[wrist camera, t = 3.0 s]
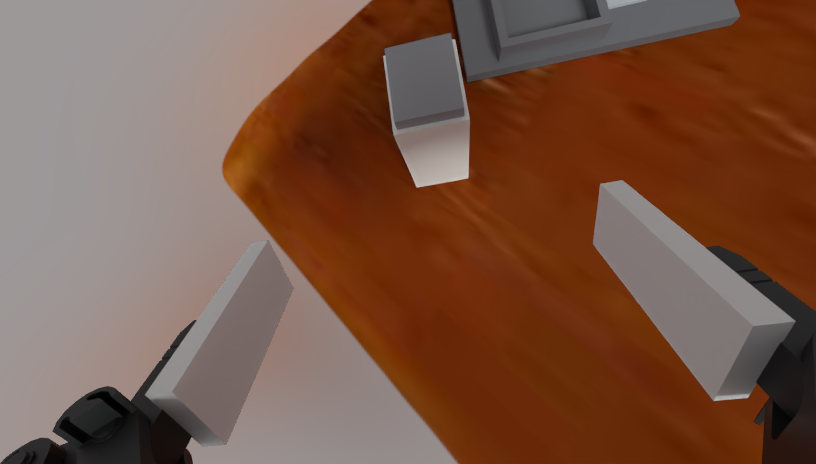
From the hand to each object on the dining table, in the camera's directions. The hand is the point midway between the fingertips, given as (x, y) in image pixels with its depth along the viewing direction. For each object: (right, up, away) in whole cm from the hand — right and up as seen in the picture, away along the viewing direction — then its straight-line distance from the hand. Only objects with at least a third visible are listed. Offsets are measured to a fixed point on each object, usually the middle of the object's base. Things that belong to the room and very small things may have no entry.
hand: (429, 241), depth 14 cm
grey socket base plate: (+16, +23, +20) cm, 34 cm away
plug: (+2, +8, +19) cm, 21 cm away
